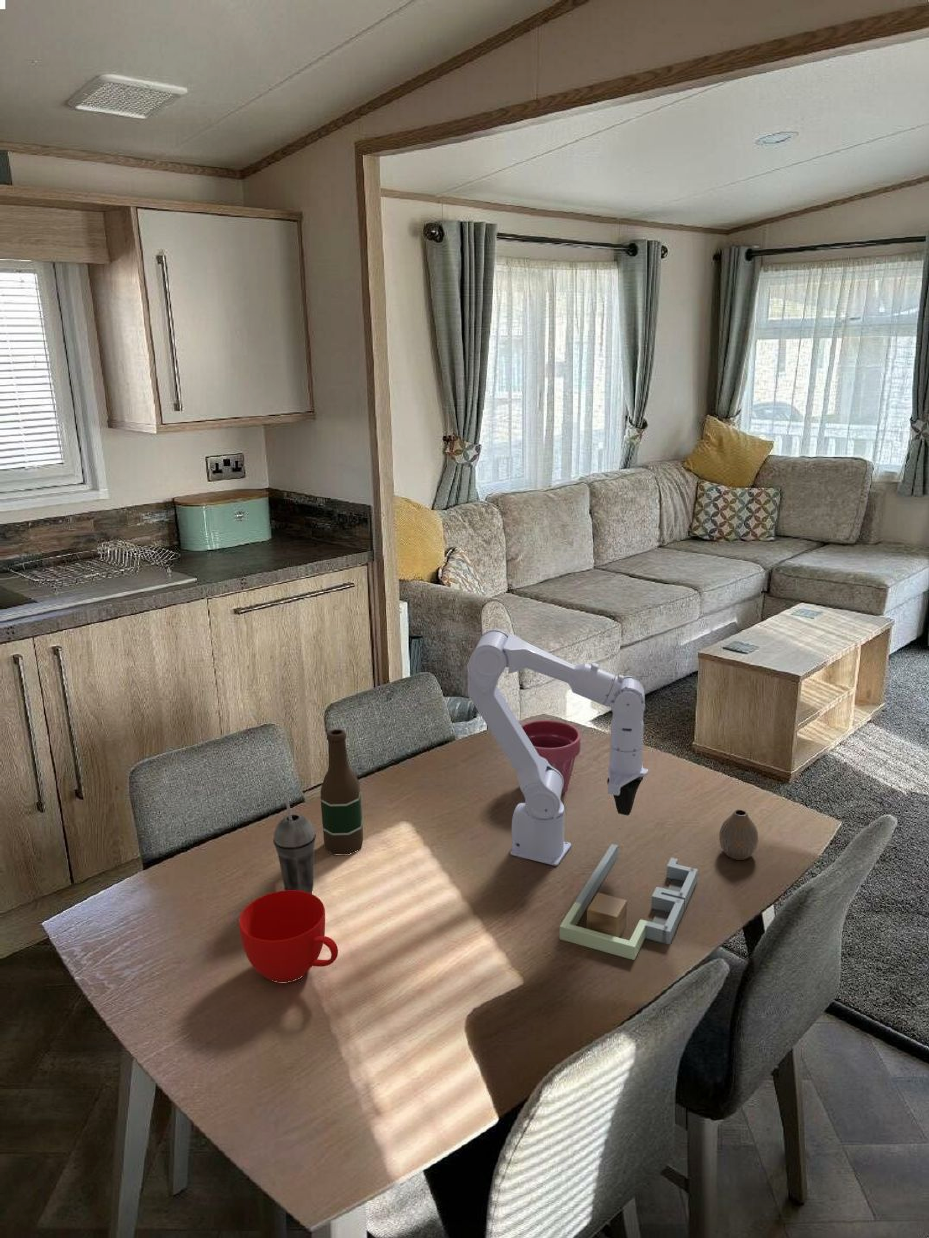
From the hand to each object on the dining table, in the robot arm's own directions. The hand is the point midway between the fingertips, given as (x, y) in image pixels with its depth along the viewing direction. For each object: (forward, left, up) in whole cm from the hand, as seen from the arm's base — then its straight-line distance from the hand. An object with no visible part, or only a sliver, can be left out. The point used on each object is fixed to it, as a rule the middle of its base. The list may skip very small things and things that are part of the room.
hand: (624, 812), depth 166 cm
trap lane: (+6, -14, -9) cm, 18 cm away
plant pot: (-23, +20, -10) cm, 32 cm away
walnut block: (+4, -22, -10) cm, 24 cm away
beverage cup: (-48, -35, -10) cm, 60 cm away
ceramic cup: (-36, -52, -10) cm, 64 cm away
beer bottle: (-50, -18, -10) cm, 54 cm away
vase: (+19, +10, -10) cm, 24 cm away
